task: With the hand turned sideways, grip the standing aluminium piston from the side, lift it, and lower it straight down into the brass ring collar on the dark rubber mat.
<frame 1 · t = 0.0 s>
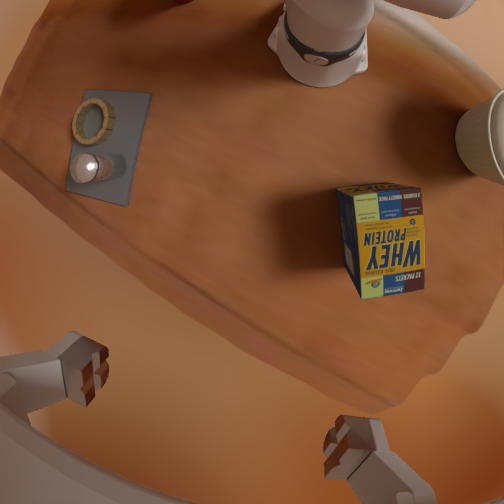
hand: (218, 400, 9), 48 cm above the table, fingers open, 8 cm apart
rubber mat: (105, 144, 55), on the table
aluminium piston: (115, 166, 55), point 1 cm above the table, touching rubber mat
brass collar: (100, 122, 54), resting on rubber mat
protein box: (366, 225, 54), on the table
canister: (475, 143, 46), on the table
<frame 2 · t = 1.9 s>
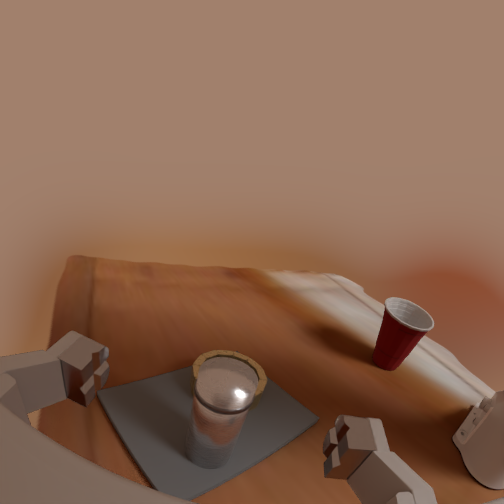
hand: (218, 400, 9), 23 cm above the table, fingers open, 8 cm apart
rubber mat: (210, 417, 33), on the table
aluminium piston: (207, 450, 27), point 1 cm above the table, touching rubber mat
plastic cup: (384, 363, 53), on the table
brass collar: (224, 393, 38), resting on rubber mat
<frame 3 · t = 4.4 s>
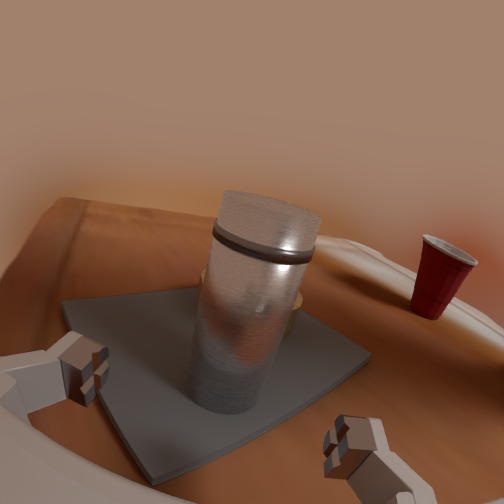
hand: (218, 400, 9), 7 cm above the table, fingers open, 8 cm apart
rubber mat: (223, 347, 24), on the table
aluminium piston: (222, 386, 18), point 1 cm above the table, touching rubber mat
plastic cup: (424, 313, 44), on the table
brass collar: (242, 321, 29), resting on rubber mat
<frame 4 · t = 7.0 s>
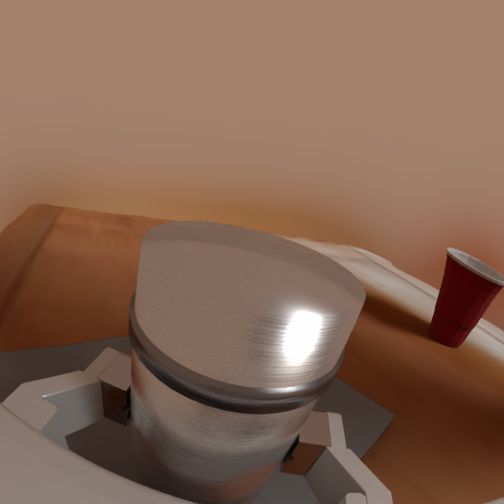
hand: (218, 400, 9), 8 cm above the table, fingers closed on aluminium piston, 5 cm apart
rubber mat: (198, 422, 16), on the table
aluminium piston: (189, 498, 10), point 1 cm above the table, touching gripper, rubber mat
plastic cup: (444, 339, 36), on the table
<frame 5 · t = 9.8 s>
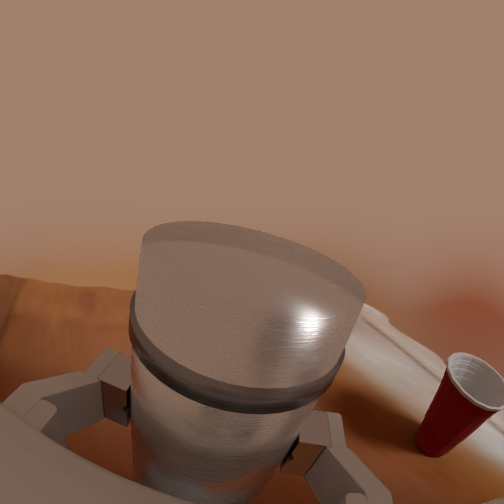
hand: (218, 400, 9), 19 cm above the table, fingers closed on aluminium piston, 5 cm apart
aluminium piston: (189, 498, 10), point 12 cm above the table, touching gripper
plastic cup: (431, 445, 29), on the table
when the fingers open (9 cm above the table, at t = 12.8 s): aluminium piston drops 1 cm, resting on rubber mat.
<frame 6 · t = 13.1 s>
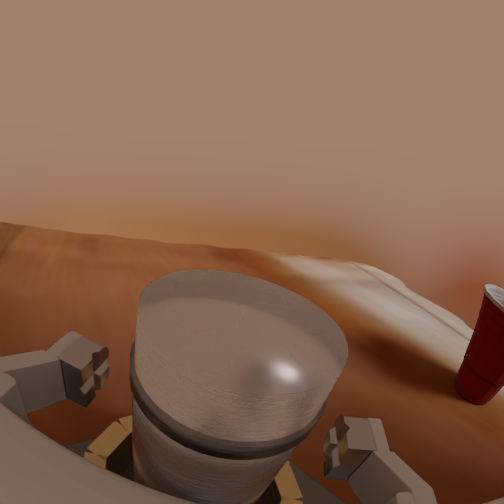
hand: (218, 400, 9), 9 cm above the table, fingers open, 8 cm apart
plastic cup: (471, 393, 26), on the table
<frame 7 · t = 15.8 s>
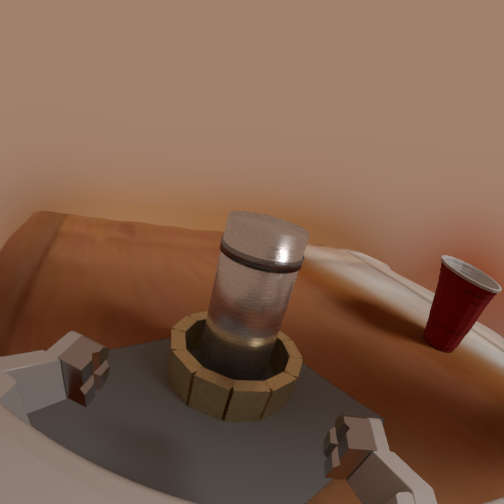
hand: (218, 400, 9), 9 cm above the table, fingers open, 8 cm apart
rubber mat: (200, 426, 18), on the table
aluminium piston: (229, 375, 22), point 1 cm above the table, touching rubber mat
plastic cup: (438, 344, 37), on the table
brass collar: (226, 384, 22), resting on rubber mat
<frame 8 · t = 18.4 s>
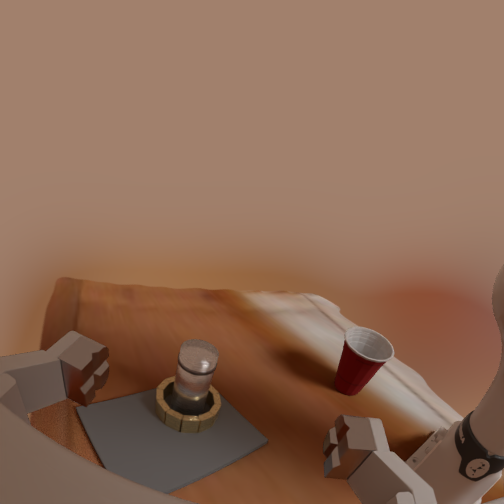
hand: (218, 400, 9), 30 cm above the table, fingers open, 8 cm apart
rubber mat: (170, 434, 37), on the table
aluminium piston: (186, 409, 41), point 1 cm above the table, touching rubber mat
plastic cup: (346, 388, 57), on the table
brass collar: (185, 413, 42), resting on rubber mat
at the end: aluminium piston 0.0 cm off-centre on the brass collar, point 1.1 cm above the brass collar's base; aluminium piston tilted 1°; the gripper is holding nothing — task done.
